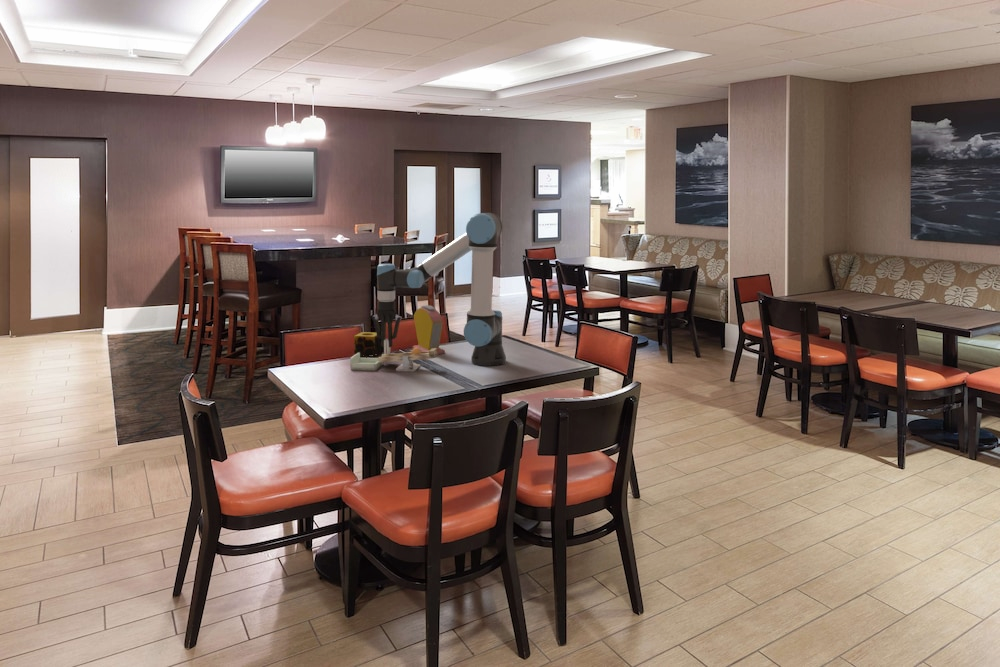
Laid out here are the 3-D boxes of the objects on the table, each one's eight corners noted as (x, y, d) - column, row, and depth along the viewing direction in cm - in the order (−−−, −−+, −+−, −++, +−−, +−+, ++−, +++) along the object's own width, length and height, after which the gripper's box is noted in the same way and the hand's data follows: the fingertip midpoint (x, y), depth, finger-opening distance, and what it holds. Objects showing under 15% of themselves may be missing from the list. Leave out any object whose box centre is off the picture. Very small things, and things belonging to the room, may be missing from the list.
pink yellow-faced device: (447, 354, 341) (447, 308, 337) (429, 357, 336) (428, 309, 332) (427, 346, 360) (426, 302, 356) (409, 348, 355) (408, 303, 351)
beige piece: (441, 354, 322) (439, 344, 321) (434, 360, 310) (433, 351, 309) (385, 358, 326) (383, 349, 325) (376, 365, 313) (375, 355, 313)
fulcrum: (420, 366, 319) (419, 351, 318) (414, 371, 310) (414, 356, 308) (402, 365, 320) (401, 351, 319) (395, 370, 311) (395, 356, 310)
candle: (375, 358, 334) (374, 336, 332) (353, 357, 336) (353, 335, 334) (383, 353, 343) (382, 332, 342) (362, 352, 345) (361, 331, 344)
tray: (382, 364, 322) (382, 353, 321) (375, 370, 311) (375, 358, 310) (358, 363, 323) (358, 352, 322) (350, 369, 313) (349, 358, 312)
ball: (416, 345, 314) (411, 350, 315) (414, 346, 311) (409, 352, 312) (423, 351, 315) (417, 356, 315) (421, 353, 311) (415, 358, 312)
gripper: (404, 299, 321) (404, 353, 325) (373, 298, 322) (374, 351, 327) (399, 302, 313) (400, 357, 318) (368, 301, 315) (369, 355, 320)
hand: (387, 354), depth 322 cm, fingers closed
